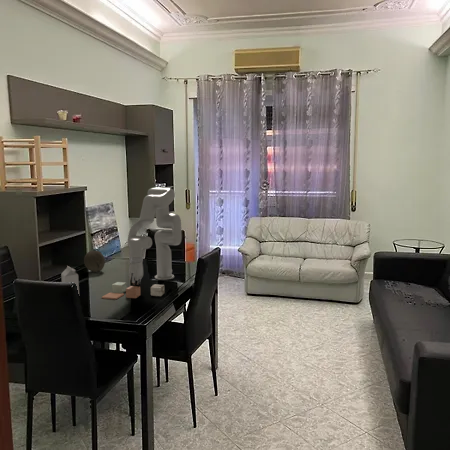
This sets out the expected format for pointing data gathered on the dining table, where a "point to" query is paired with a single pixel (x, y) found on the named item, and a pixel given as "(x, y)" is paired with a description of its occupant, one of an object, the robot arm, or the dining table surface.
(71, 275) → the milk carton
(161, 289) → the cream block
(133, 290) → the terracotta block
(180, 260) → the dining table surface
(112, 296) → the colour tile
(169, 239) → the robot arm
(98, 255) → the cantaloupe
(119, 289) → the sage block
